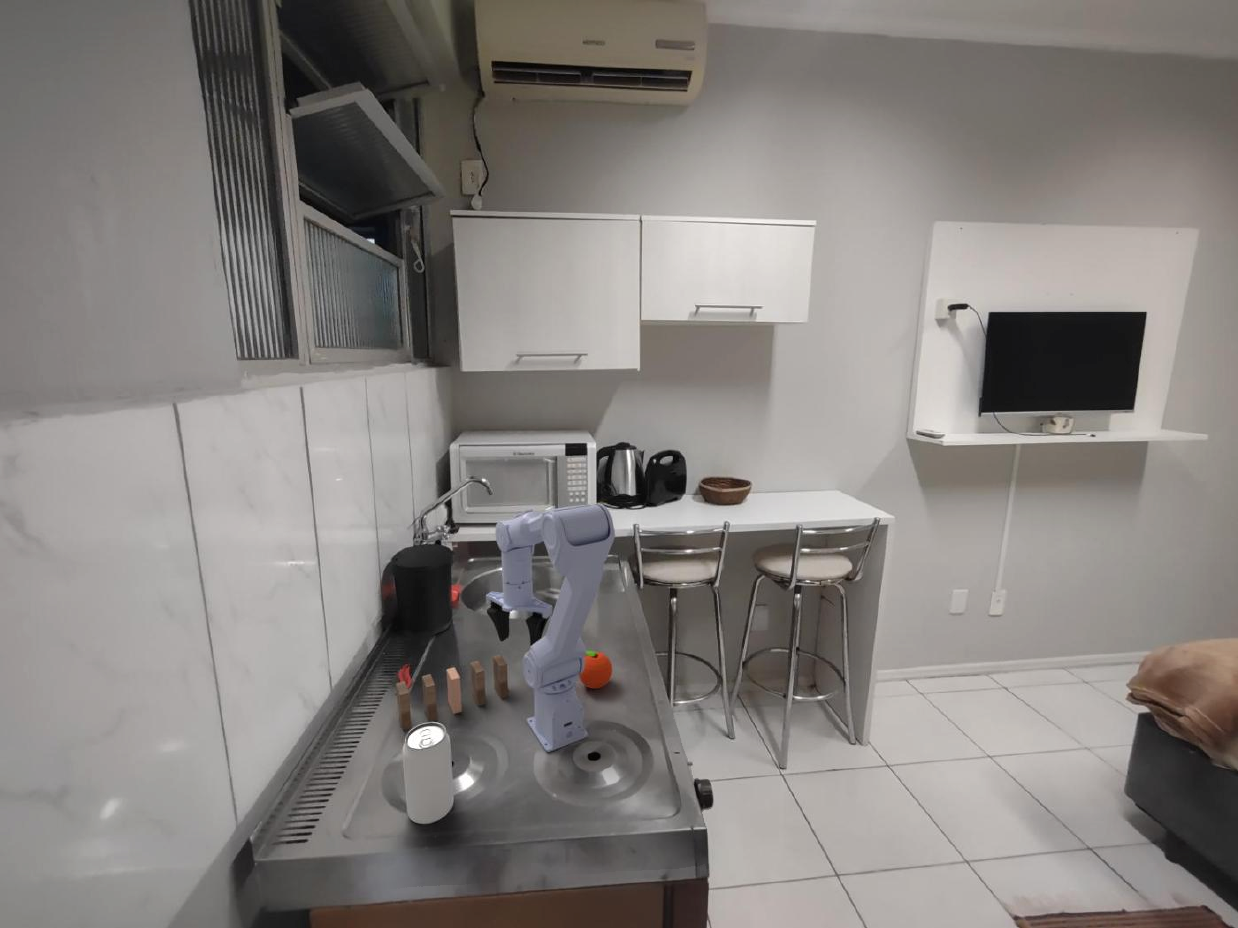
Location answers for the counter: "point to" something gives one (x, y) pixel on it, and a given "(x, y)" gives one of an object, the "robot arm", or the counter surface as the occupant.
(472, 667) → the domino
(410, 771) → the can
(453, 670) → the domino
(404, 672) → the cayenne pepper
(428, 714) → the domino
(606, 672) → the clementine
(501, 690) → the domino
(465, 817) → the counter surface
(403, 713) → the domino
